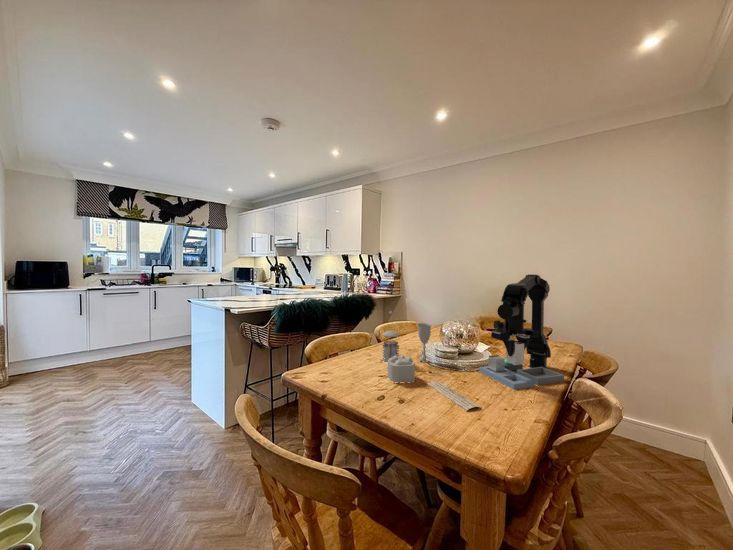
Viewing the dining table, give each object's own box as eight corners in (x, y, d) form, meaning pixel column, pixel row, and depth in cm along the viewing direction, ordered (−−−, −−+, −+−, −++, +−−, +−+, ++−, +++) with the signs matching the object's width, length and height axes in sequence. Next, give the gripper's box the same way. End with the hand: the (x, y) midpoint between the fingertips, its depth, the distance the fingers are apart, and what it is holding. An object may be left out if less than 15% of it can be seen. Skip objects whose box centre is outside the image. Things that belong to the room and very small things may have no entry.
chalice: (427, 364, 144) (427, 326, 144) (414, 361, 149) (414, 324, 148) (433, 360, 150) (434, 324, 150) (421, 357, 154) (421, 322, 154)
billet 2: (515, 360, 123) (515, 340, 122) (523, 363, 118) (524, 343, 118) (506, 361, 121) (506, 341, 121) (514, 364, 117) (515, 343, 117)
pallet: (497, 370, 136) (497, 365, 136) (534, 387, 117) (534, 381, 117) (478, 372, 133) (479, 367, 133) (513, 390, 114) (513, 384, 114)
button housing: (509, 365, 143) (509, 359, 143) (522, 371, 135) (522, 364, 135) (495, 367, 140) (495, 360, 140) (507, 373, 133) (508, 366, 133)
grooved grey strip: (426, 386, 119) (427, 382, 119) (442, 384, 122) (442, 379, 122) (466, 413, 97) (466, 408, 97) (484, 410, 100) (484, 405, 100)
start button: (508, 364, 140) (509, 357, 140) (515, 367, 136) (515, 360, 136) (501, 365, 139) (501, 358, 139) (508, 367, 135) (508, 361, 135)
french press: (400, 359, 152) (401, 309, 151) (401, 367, 140) (401, 313, 139) (381, 358, 153) (381, 309, 152) (379, 366, 141) (380, 312, 140)
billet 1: (497, 373, 132) (497, 354, 132) (504, 376, 128) (504, 357, 128) (488, 374, 131) (488, 355, 131) (495, 378, 127) (496, 358, 127)
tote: (541, 373, 132) (541, 366, 132) (564, 382, 122) (564, 375, 122) (516, 376, 128) (516, 369, 128) (537, 386, 118) (537, 378, 118)
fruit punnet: (392, 384, 120) (392, 362, 119) (384, 373, 132) (384, 353, 132) (417, 382, 121) (417, 361, 121) (407, 371, 134) (407, 352, 134)
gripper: (518, 312, 130) (518, 348, 130) (482, 314, 124) (481, 352, 125) (540, 316, 119) (540, 355, 120) (501, 318, 114) (501, 360, 114)
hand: (514, 355), depth 120 cm, fingers closed on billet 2, 4 cm apart
